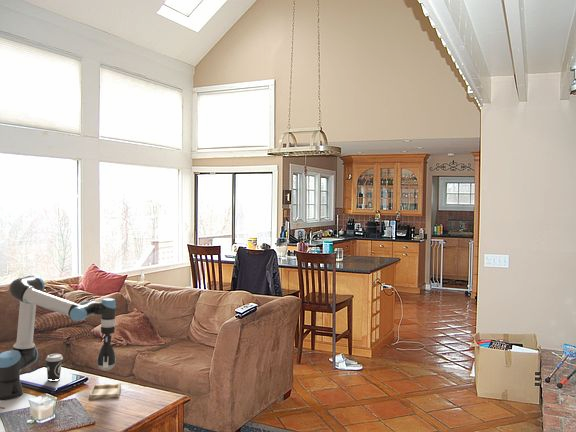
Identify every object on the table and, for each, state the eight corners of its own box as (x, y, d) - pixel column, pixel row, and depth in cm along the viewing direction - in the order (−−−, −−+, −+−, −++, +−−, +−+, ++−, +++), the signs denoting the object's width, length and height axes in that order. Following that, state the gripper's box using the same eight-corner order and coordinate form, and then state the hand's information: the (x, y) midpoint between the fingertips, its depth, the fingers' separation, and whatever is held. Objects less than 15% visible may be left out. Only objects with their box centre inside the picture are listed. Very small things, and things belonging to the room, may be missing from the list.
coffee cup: (56, 376, 320) (57, 352, 319) (65, 380, 314) (66, 355, 314) (41, 380, 312) (42, 355, 312) (50, 384, 306) (51, 359, 306)
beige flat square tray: (88, 399, 287) (88, 395, 287) (92, 388, 303) (92, 384, 302) (118, 398, 291) (119, 393, 291) (120, 387, 307) (121, 383, 306)
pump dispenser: (118, 370, 295) (119, 344, 295) (99, 373, 289) (100, 346, 289) (113, 365, 303) (114, 339, 303) (94, 367, 298) (95, 341, 297)
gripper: (113, 331, 285) (111, 370, 286) (116, 320, 307) (114, 357, 308) (98, 331, 283) (97, 371, 284) (103, 321, 305) (101, 358, 306)
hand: (106, 364), depth 296 cm, fingers closed on pump dispenser, 10 cm apart
